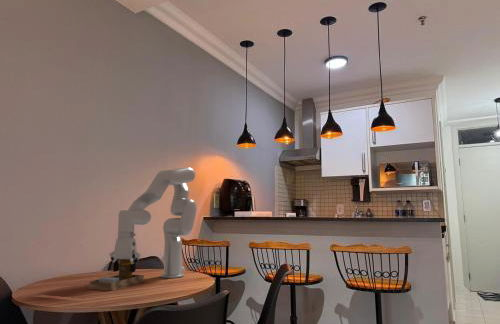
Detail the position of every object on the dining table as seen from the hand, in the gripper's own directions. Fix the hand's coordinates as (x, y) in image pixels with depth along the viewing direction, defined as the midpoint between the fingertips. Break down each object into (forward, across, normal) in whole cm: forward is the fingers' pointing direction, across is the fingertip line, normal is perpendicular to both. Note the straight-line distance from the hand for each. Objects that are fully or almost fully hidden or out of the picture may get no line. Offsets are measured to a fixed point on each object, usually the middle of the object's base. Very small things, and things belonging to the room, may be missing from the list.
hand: (124, 271), depth 173 cm
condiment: (+6, 0, 0) cm, 6 cm away
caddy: (+6, 0, +4) cm, 8 cm away
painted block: (+5, 0, +10) cm, 12 cm away
